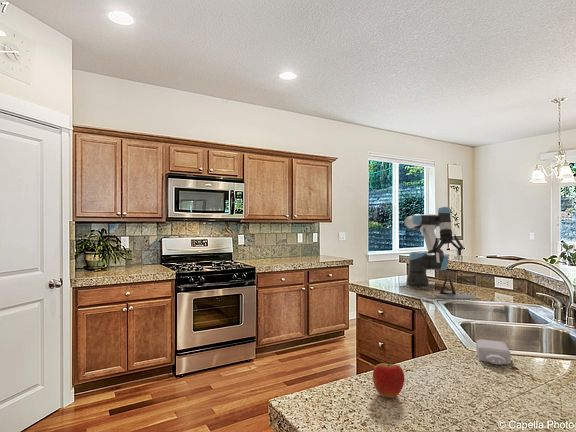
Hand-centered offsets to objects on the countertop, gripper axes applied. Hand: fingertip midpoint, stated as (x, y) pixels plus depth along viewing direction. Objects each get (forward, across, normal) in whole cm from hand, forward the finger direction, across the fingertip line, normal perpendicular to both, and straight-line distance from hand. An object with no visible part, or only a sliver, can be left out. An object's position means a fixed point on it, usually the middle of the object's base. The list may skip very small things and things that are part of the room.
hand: (448, 261), depth 240 cm
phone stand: (+20, -1, -2) cm, 21 cm away
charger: (+52, +56, -98) cm, 124 cm away
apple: (+59, +45, -145) cm, 163 cm away
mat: (+23, +7, -8) cm, 26 cm away
